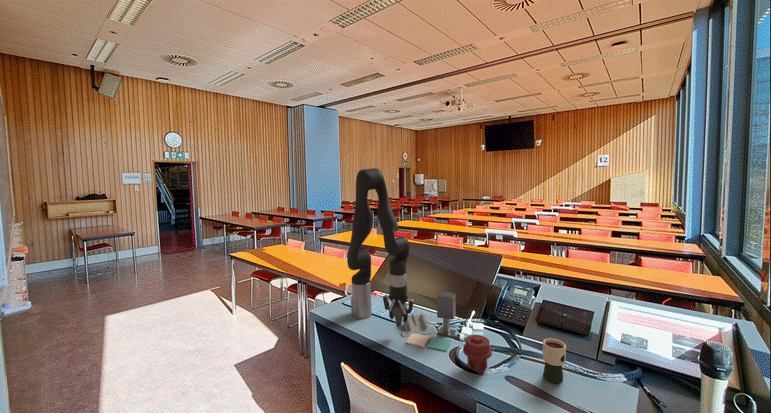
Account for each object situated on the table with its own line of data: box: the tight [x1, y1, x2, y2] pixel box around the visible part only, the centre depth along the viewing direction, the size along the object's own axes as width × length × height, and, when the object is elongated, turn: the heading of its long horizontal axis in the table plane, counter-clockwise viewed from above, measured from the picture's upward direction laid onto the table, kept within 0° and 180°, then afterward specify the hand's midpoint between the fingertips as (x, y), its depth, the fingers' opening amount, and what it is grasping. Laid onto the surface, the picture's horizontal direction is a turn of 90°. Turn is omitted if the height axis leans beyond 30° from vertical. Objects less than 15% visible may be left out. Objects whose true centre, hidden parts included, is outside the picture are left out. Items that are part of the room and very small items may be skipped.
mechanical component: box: [462, 334, 493, 375], centre depth 122 cm, size 12×10×10 cm
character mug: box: [542, 338, 567, 384], centre depth 116 cm, size 11×7×13 cm, turn 149°
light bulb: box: [392, 306, 404, 327], centre depth 146 cm, size 6×6×10 cm
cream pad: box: [405, 333, 430, 348], centre depth 144 cm, size 8×8×1 cm
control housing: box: [436, 291, 457, 338], centre depth 148 cm, size 7×5×18 cm
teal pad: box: [427, 336, 452, 352], centre depth 140 cm, size 8×8×1 cm
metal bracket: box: [401, 313, 437, 338], centre depth 154 cm, size 14×6×15 cm
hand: (398, 319), depth 147 cm, fingers closed on light bulb, 5 cm apart
